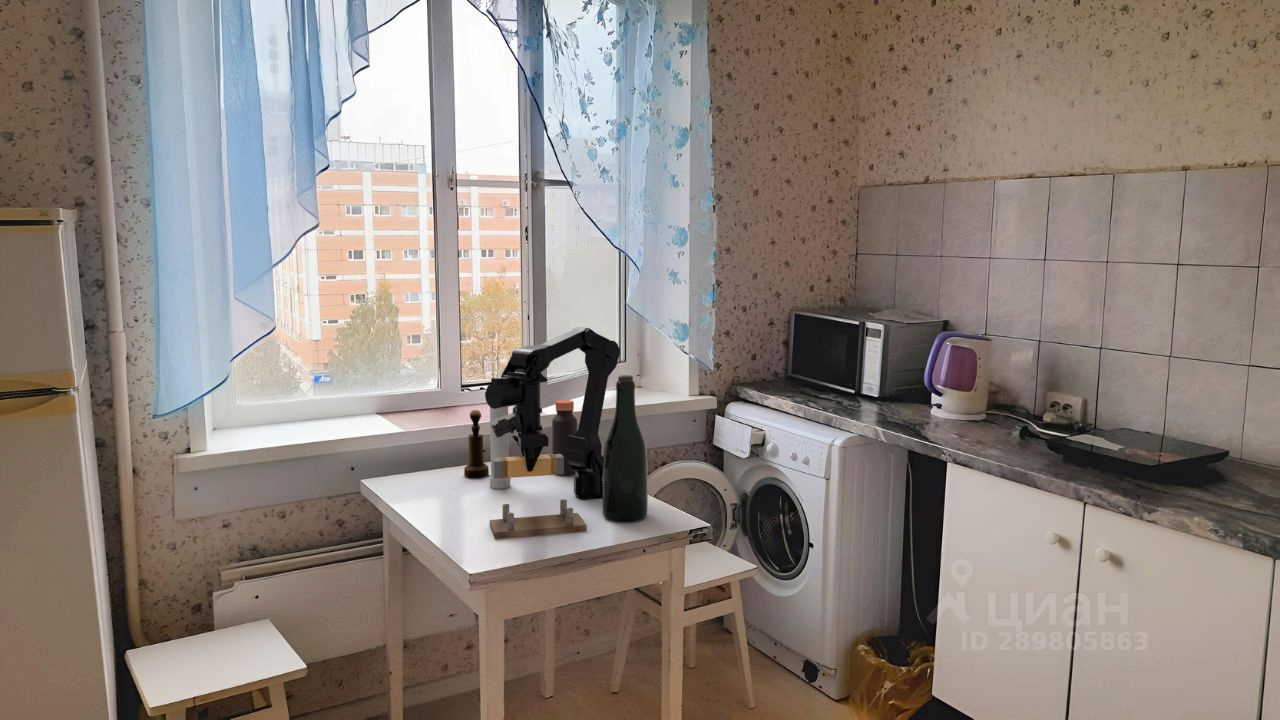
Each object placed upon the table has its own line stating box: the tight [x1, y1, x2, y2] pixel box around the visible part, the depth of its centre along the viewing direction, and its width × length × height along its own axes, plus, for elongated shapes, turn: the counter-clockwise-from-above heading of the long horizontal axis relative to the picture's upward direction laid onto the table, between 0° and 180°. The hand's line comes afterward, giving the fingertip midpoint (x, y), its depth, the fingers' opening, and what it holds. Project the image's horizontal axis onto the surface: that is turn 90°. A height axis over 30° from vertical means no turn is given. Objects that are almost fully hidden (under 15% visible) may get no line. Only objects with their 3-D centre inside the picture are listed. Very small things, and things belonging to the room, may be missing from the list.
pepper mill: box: [463, 409, 490, 479], centre depth 239 cm, size 7×6×18 cm
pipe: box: [488, 406, 512, 490], centre depth 227 cm, size 6×6×30 cm
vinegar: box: [551, 399, 578, 477], centre depth 242 cm, size 7×7×20 cm
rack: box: [489, 499, 588, 540], centre depth 195 cm, size 20×9×5 cm, turn 107°
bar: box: [492, 453, 564, 479], centre depth 205 cm, size 16×4×4 cm, turn 107°
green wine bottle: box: [602, 374, 649, 523], centre depth 203 cm, size 10×10×33 cm
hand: (528, 469), depth 205 cm, fingers closed on bar, 4 cm apart
